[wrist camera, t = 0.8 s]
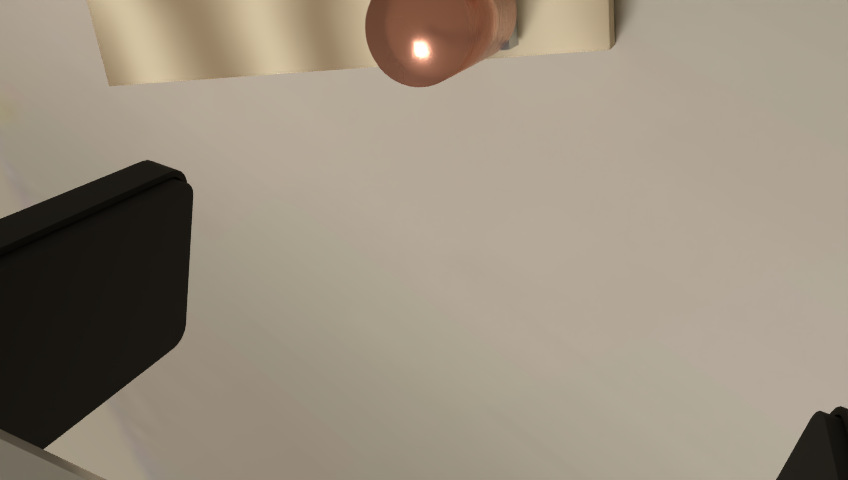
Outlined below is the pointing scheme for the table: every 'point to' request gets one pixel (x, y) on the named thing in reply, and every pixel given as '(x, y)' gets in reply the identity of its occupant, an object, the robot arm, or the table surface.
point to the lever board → (295, 36)
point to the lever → (437, 36)
